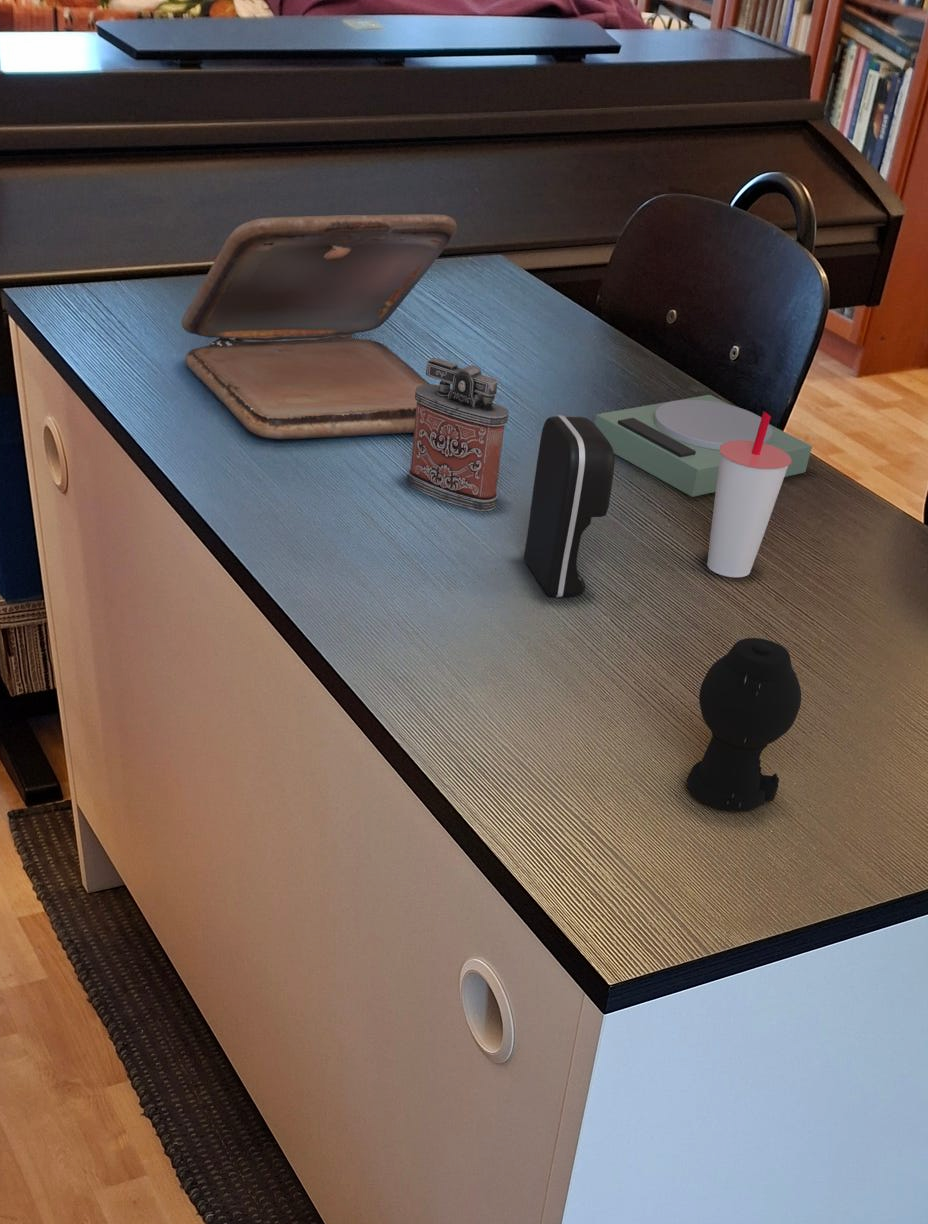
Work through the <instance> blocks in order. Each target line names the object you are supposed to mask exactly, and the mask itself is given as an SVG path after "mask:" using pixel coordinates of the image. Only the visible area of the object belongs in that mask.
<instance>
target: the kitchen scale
mask: <svg viewBox="0 0 928 1224" xmlns="http://www.w3.org/2000/svg"><path fill="white" fill-rule="evenodd" d="M761 418H762V416H760V415H758V414H755V413H754V412H752V411H750V410H748V409H744V408H741V407H739V406H735V405H731V404H729V403H728V402H726V401H724V400H721V399H719V398H718V397H716V396H714V395H712V394H705V395H700V396H694V397H689V398H683V399H677V400H670V401H666V402H665V401H664V402H659V403H654V404H647V405H642V406H637V407H631V408H624V409H619V410H612V411H607V412H602V413H601V412H600V413H597V414H596V415H595V420H594V424H595V425H596V426H597V427H598V429H599V430H600V431H601V432H602V433H603V435H604V436H605V437H606V439H607V440H608V441H609V443H610V444H611V446H612V448H613V451H614V455H616V456H617V457H619V458H621V459H623V460H625V461H627V462H628V463H630V464H631V465H634V466H635V467H637V468H639V469H641V470H642V471H645V472H646V473H648V474H649V475H651V476H653V477H656V478H657V479H659V480H661V482H664V483H665V484H668V485H670V486H672V487H673V488H675V489H677V490H678V491H680V492H682V493H684V494H686V495H688V496H689V497H691V498H694V497H699V496H703V495H708V494H712V493H713V494H714V493H716V486H717V478H718V470H719V462H720V454H721V452H720V446H721V445H722V444H724V443H726V442H729V441H736V440H745V441H755V439H756V436H757V432H758V429H759V425H760V422H761ZM763 443H764V444H768V445H771V446H774V447H777V448H779V449H781V450H783V451H784V452H786V453H787V454H788V455H789V456H790V457H791V460H792V461H791V463H790V465H788V468H787V471H786V474H785V476H784V478H787V477H790V476H795V475H800V474H805V473H806V472H807V467H808V464H809V460H810V456H811V452H812V448H813V445H812V444H810V443H807V442H806V441H804V440H801V439H799V438H798V437H796V436H794V435H792V434H789V433H788V432H785V431H784V430H781V429H780V428H778V427H775V426H773V425H772V424H770V423H769V425H768V428H767V431H766V435H765V438H764V442H763Z"/></svg>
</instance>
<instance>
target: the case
mask: <svg viewBox="0 0 928 1224" xmlns="http://www.w3.org/2000/svg"><path fill="white" fill-rule="evenodd" d="M457 230H458V225H457V222H456V220H455V219H454V218H453V217H452V216H450V215H446V214H434V213H433V214H432V213H430V214H429V213H428V214H427V213H423V214H420V213H418V214H416V213H413V214H412V213H411V214H380V215H379V214H341V215H340V214H338V215H305V216H276V217H275V216H274V217H273V216H271V217H262V218H261V217H260V218H256V219H252V220H249V221H247V222H244V223H242V224H240V225H238V226H237V227H235V229H234V230H233V231H232V232H230V234H229V235H228V237H227V238H226V240H225V243H224V244H223V246H222V248H221V249H220V251H219V253H218V255H217V256H216V258H215V260H214V262H213V264H212V265H211V267H210V269H209V271H208V272H207V274H206V276H205V277H204V279H203V282H202V283H201V285H200V286H199V288H198V289H197V292H196V294H195V295H194V296H193V299H192V300H191V302H190V304H189V306H188V307H187V308H186V311H185V312H184V314H183V316H182V318H181V327H182V329H183V330H184V331H185V332H187V333H189V334H192V335H197V336H200V337H204V338H209V339H210V338H216V340H214V341H212V342H211V343H210V344H209V345H205V346H202V347H200V346H199V347H196V348H192V349H190V350H189V351H187V353H186V354H185V356H184V362H185V364H186V366H187V367H188V369H190V371H192V373H193V374H194V375H195V376H196V377H197V378H198V379H199V380H200V381H202V383H203V384H204V385H205V386H207V388H208V389H209V390H211V392H212V393H213V394H214V395H215V396H216V397H217V399H219V401H221V402H222V404H223V405H224V406H225V407H226V408H227V409H228V410H229V411H230V412H231V414H232V415H233V416H235V418H236V419H237V420H238V422H240V424H242V425H243V426H244V427H245V429H246V430H247V431H249V432H250V433H252V434H254V435H256V436H258V437H261V438H264V439H270V440H271V439H272V440H298V439H300V440H301V439H319V438H320V439H321V438H334V437H337V438H339V437H355V436H374V435H389V434H411V433H412V434H414V427H415V417H416V406H417V401H416V400H415V392H416V387H418V386H420V385H425V384H431V383H430V382H428V381H427V380H426V379H425V378H423V377H422V376H421V375H420V374H419V373H418V372H417V371H416V370H415V369H414V368H413V367H412V366H411V365H410V364H408V363H407V362H406V361H404V360H403V359H402V358H401V357H400V356H399V355H398V354H397V353H395V352H393V350H391V349H390V348H389V347H388V346H387V345H385V344H383V343H381V342H379V341H376V340H371V339H364V338H354V337H352V336H351V335H353V334H357V333H366V332H370V331H373V330H376V329H378V328H380V327H381V326H382V325H383V324H385V323H386V322H387V321H388V320H389V319H390V318H391V316H392V315H394V312H396V310H397V309H398V308H399V307H400V306H401V304H402V303H403V302H404V300H405V299H406V298H407V297H408V295H409V294H410V293H411V292H412V291H413V289H414V288H415V287H416V285H418V283H419V282H420V280H421V279H422V278H423V277H424V276H425V274H426V273H427V272H428V271H429V269H430V268H431V266H433V264H434V263H435V262H436V260H437V259H438V258H439V257H440V256H441V254H442V253H443V251H444V250H445V249H446V247H447V246H448V245H449V243H450V242H451V241H452V240H453V238H454V237H455V236H456V233H457Z"/></svg>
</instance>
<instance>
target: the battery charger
mask: <svg viewBox="0 0 928 1224" xmlns="http://www.w3.org/2000/svg"><path fill="white" fill-rule="evenodd" d="M615 461H616V458H615V454H614V451H613V448H612V446H611V444H610V443H609V441H608V440H607V439H606V437H605V436H604V435H603V433H602V432H601V431H600V430H599V429H598V427H597V426H596V425H595V422H593V421H592V420H591V419H589V418H587V417H583V416H565V415H563V414H557V415H554V416H549V417H548V418H546V420H545V422H544V423H543V426H542V430H541V435H540V441H539V447H538V453H537V459H536V467H535V475H534V481H533V487H532V488H533V490H532V496H531V505H530V512H529V521H528V527H527V533H526V541H525V545H524V546H525V547H524V553H523V554H524V555H523V559H524V560H525V562H526V564H527V565H528V567H529V569H530V570H531V571H532V573H533V575H534V577H535V578H536V580H537V581H538V583H539V584H540V586H541V587H542V588H543V590H544V591H545V592H546V595H548V596H550V597H555V598H563V597H571V596H579V595H581V594H583V593H584V592H585V589H586V583H585V581H584V579H583V577H582V576H581V575H580V573H579V572H578V569H577V562H578V553H579V549H580V543H581V539H582V535H583V533H584V532H585V531H586V529H587V528H588V527H589V526H591V522H592V518H601V517H605V516H607V514H608V510H609V507H610V501H611V495H612V487H613V480H614V472H615V463H616V462H615Z"/></svg>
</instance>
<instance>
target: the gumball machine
mask: <svg viewBox="0 0 928 1224" xmlns="http://www.w3.org/2000/svg"><path fill="white" fill-rule="evenodd" d="M765 630H766V627H764V628H763V635H764V634H765ZM801 689H802V688H801V685H800V682H799V679H798V676H797V672H796V671H795V670H794V668H793V665H792V659H791V655H790V652H789V651H788V650H787V648H785V647H784V646H783V645H781V644H779V643H777V642H776V641H773V640H769V639H768V635H766V636H765V638H758V637H751V638H750V637H747V638H743V639H742V638H741V639H739V640H738V641H736V642H735V643H734V644H733V645H732V647H731V648H730V649H729V651H728V652H727V653H726V654H724V655H723V656H722V657H720V658H719V659H718V660H717V659H716V661H715V662H713V664H712V665H711V666H710V667H709V669H708V670H707V671H706V674H705V675H704V678H703V680H702V682H701V686H700V688H699V694H698V700H699V701H698V702H699V707H700V712H701V717H702V720H703V722H704V723H705V725H706V726H707V728H708V729H709V730H710V732H711V738H710V741H709V743H708V745H707V747H706V750H705V752H704V754H703V756H702V759H701V760H699V761H698V762H696V763H695V764H694V765H693V766H692V767H691V770H690V772H689V774H688V776H687V778H686V786H687V789H688V790H689V793H691V794H692V795H693V797H695V798H696V799H698V800H699V801H700V802H702V803H705V804H706V805H709V806H711V807H714V808H718V809H721V810H725V811H732V812H733V811H734V812H741V811H743V812H745V811H751V810H754V809H757V808H759V807H760V806H762V805H763V803H764V802H766V803H768V802H773V801H775V798H776V795H777V792H778V789H779V782H780V777H778V775H777V773H773V774H772V775H769V774H763V773H762V767H761V762H762V761H761V759H760V758H761V756H762V755H761V754H762V753H763V751H764V750H765V749H766V748H767V747H768V745H770V744H772V743H775V742H776V741H777V740H779V739H780V738H781V737H783V736H784V735H785V734H786V733H787V732H788V731H790V729H791V728H792V726H793V725H794V723H795V721H796V719H797V717H798V714H799V711H800V709H801V705H802V690H801ZM764 814H765V811H764V810H763V811H762V819H763V818H764Z"/></svg>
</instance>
